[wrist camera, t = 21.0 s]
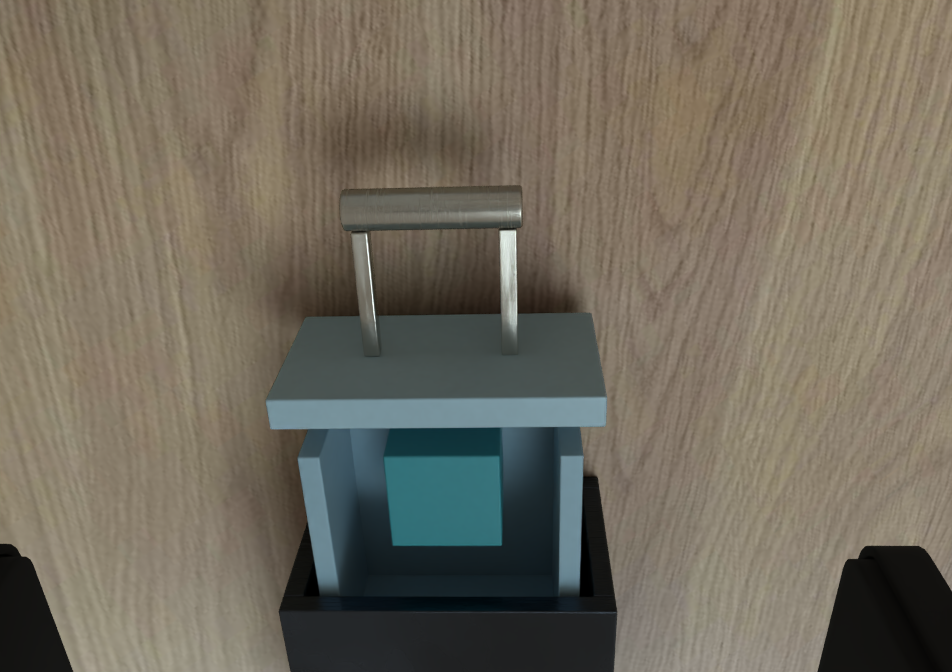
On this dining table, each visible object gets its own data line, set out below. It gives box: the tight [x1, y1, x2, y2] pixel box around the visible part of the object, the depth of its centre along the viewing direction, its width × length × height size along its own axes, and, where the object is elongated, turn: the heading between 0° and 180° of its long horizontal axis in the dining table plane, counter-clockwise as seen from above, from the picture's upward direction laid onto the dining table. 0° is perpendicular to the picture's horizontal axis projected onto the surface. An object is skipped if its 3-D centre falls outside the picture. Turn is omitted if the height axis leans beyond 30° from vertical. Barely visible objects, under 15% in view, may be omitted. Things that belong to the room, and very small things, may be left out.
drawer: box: [266, 185, 607, 597], centre depth 33 cm, size 20×11×6 cm, turn 2°
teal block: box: [383, 427, 503, 546], centre depth 33 cm, size 4×4×4 cm
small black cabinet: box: [279, 477, 617, 672], centre depth 38 cm, size 15×13×8 cm
